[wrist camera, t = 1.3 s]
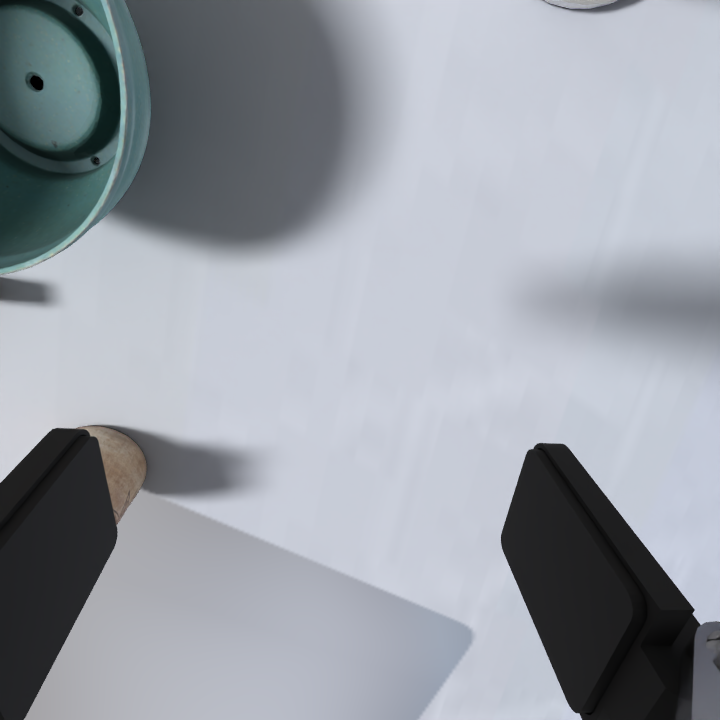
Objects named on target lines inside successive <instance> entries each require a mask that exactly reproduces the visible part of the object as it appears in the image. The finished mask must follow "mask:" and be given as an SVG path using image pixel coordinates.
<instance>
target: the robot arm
mask: <svg viewBox="0 0 720 720" xmlns="http://www.w3.org/2000/svg"><path fill="white" fill-rule="evenodd" d="M545 1H546V2H548V3H550V4H554V5H558V6H562V7H565V8H569V9H591V8H595V7H599V6H604V5H608V4H612V3H614V2H616V1H618V0H545ZM116 540H117V526H116V521H115V516H114V512H113V507H112V502H111V497H110V493H109V488H108V483H107V479H106V474H105V469H104V465H103V460H102V455H101V451H100V446H99V442H98V439H97V438H96V437H94V436H90V433H89V432H88V431H87V430H85V429H67V428H55V429H52V430H51V431H50V432H49V433H48V434H47V435H46V436H45V437H44V438H43V439H42V440H41V441H40V442H39V443H38V444H37V445H36V446H35V447H34V448H33V449H32V451H31V452H30V453H29V454H28V455H27V456H26V457H25V458H24V459H23V460H22V461H21V462H20V463H19V464H18V465H17V466H16V467H15V468H14V469H13V470H12V471H11V473H10V474H9V475H8V476H7V477H6V478H5V479H4V480H3V481H2V482H1V483H0V720H24V718H25V717H26V715H27V713H28V711H29V709H30V707H31V705H32V703H33V702H34V699H35V698H36V696H37V694H38V692H39V690H40V688H41V686H42V684H43V682H44V681H45V679H46V676H47V675H48V673H49V671H50V669H51V667H52V665H53V663H54V661H55V660H56V658H57V655H58V654H59V652H60V650H61V648H62V646H63V644H64V642H65V640H66V638H67V637H68V635H69V633H70V630H71V629H72V627H73V625H74V623H75V621H76V619H77V617H78V615H79V614H80V612H81V610H82V608H83V606H84V604H85V602H86V600H87V598H88V597H89V595H90V593H91V591H92V589H93V587H94V585H95V583H96V581H97V579H98V578H99V576H100V574H101V572H102V570H103V568H104V566H105V564H106V562H107V560H108V558H109V557H110V554H111V553H112V551H113V549H114V546H115V544H116ZM501 544H502V549H503V552H504V554H505V556H506V559H507V561H508V564H509V566H510V568H511V571H512V573H513V575H514V578H515V580H516V582H517V585H518V587H519V589H520V592H521V594H522V596H523V599H524V601H525V603H526V606H527V608H528V610H529V613H530V615H531V618H532V620H533V622H534V625H535V627H536V629H537V632H538V634H539V636H540V639H541V641H542V643H543V646H544V648H545V650H546V653H547V655H548V657H549V660H550V662H551V664H552V667H553V669H554V671H555V674H556V676H557V679H558V681H559V683H560V686H561V688H562V690H563V693H564V695H565V697H566V700H567V702H568V704H569V706H570V707H571V709H572V710H573V711H574V712H575V713H580V715H581V718H582V720H720V622H717V621H715V622H706V623H704V624H702V625H700V623H699V622H698V621H697V620H696V618H695V617H694V616H693V614H692V613H693V612H694V608H693V607H692V606H691V605H690V603H689V602H688V601H687V599H686V598H685V597H684V596H683V594H682V593H681V592H680V590H679V589H678V588H677V587H676V585H675V584H674V583H673V581H672V580H671V579H670V578H669V576H668V575H667V574H666V573H665V571H664V570H663V569H662V567H661V566H660V565H659V564H658V562H657V561H656V560H655V558H654V557H653V556H652V555H651V553H650V552H649V551H648V549H647V548H646V547H645V546H644V544H643V543H642V542H641V540H640V539H639V538H638V537H637V535H636V534H635V533H634V531H633V530H632V529H631V528H630V526H629V525H628V524H627V523H626V521H625V520H624V519H623V517H622V516H621V515H620V514H619V512H618V511H617V510H616V508H615V507H614V506H613V505H612V503H611V502H610V501H609V499H608V498H607V497H606V496H605V494H604V493H603V492H602V490H601V489H600V488H599V487H598V485H597V484H596V483H595V481H594V480H593V479H592V478H591V476H590V475H589V474H588V473H587V471H586V470H585V469H584V467H583V466H582V465H581V464H580V462H579V461H578V460H577V458H576V457H575V456H574V455H573V453H572V452H571V451H570V449H569V448H568V447H567V446H566V445H564V444H549V443H539V444H537V445H536V446H535V447H534V449H531V450H529V451H528V452H527V454H526V457H525V460H524V463H523V466H522V469H521V473H520V476H519V479H518V482H517V486H516V489H515V492H514V495H513V498H512V502H511V505H510V508H509V511H508V514H507V518H506V521H505V524H504V527H503V531H502V534H501Z"/></svg>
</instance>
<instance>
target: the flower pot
mask: <svg viewBox="0 0 720 720" xmlns="http://www.w3.org/2000/svg"><path fill="white" fill-rule="evenodd" d="M77 7H80V8H82V9H83V14H82V15H81V16H78V15H77V14H76V13H75V10H76V8H77ZM33 75H35V76H38V77H40V78H41V79H42V80H43V83H44V87H43V89H42V90H36V89H35V88H34V87H33V86H32V85H31V83H30V79H31V77H32V76H33ZM150 119H151V95H150V86H149V78H148V72H147V66H146V62H145V57H144V53H143V50H142V46H141V42H140V39H139V36H138V33H137V30H136V27H135V25H134V22H133V19H132V17H131V15H130V12H129V10H128V7H127V5H126V3H125V1H124V0H0V275H4V274H9V273H13V272H17V271H20V270H24V269H27V268H30V267H33V266H35V265H37V264H39V263H41V262H43V261H45V260H47V259H49V258H51V257H53V256H55V255H56V254H58V253H60V252H61V251H63V250H65V249H66V248H68V247H69V246H71V245H72V244H73V243H74V242H76V241H77V240H78V239H79V238H81V237H82V236H83V235H84V234H85V233H86V232H87V231H88V230H89V229H90V228H92V227H93V226H94V225H96V224H97V223H98V222H99V221H100V220H101V219H103V218H104V217H105V216H106V215H107V214H108V213H109V212H110V211H111V210H112V209H113V208H114V206H115V205H116V204H117V203H118V202H119V201H120V199H121V198H122V196H123V195H124V194H125V192H126V191H127V190H128V188H129V187H130V185H131V183H132V181H133V179H134V178H135V176H136V174H137V171H138V169H139V167H140V165H141V162H142V159H143V156H144V153H145V149H146V145H147V141H148V136H149V129H150ZM96 157H97V158H99V160H100V164H96V163H95V162H94V159H95V158H96Z"/></svg>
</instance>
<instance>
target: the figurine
mask: <svg viewBox="0 0 720 720" xmlns="http://www.w3.org/2000/svg"><path fill="white" fill-rule="evenodd" d="M76 429H85V430H87V431H88V432H89V433H90V436H94V437H96V438H97V439H98V442H99V446H100V451H101V455H102V460H103V465H104V469H105V474H106V479H107V483H108V488H109V493H110V497H111V502H112V507H113V512H114V516H115V521H116V525H117V524H118V522H119V521H120V519H121V518H122V516H123V515H124V513H125V511H126V510H127V508H128V506H129V505H130V503H131V502H132V501H133V499H134V498H135V496H136V495H137V493H138V492H139V490H140V488H141V486H142V484H143V482H144V480H145V477H146V470H147V466H146V460H145V457H144V455H143V452H142V451H141V449H140V448H139V447H138V445H137V444H136V443H135V442H134V441H133V440H132V439H130V438H129V437H128V436H127V435H125V434H123V433H120V432H118V431H116V430H113V429H109V428H106V427H102V426H85V427H78V428H76Z"/></svg>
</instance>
